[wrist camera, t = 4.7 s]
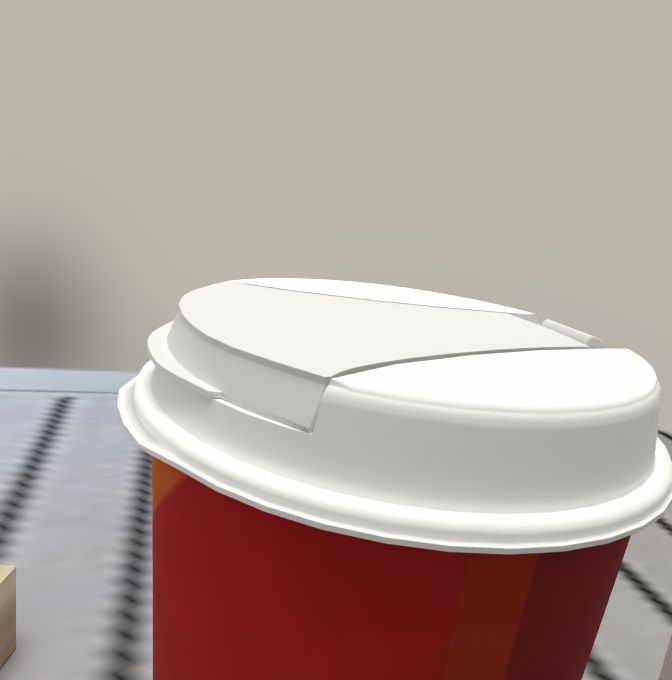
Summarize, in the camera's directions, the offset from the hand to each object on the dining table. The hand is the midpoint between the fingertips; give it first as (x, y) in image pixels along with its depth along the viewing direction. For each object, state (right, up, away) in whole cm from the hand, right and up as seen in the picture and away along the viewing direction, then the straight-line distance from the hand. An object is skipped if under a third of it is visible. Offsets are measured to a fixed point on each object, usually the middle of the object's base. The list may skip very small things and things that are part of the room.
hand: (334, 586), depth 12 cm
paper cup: (-1, -9, +1) cm, 9 cm away
